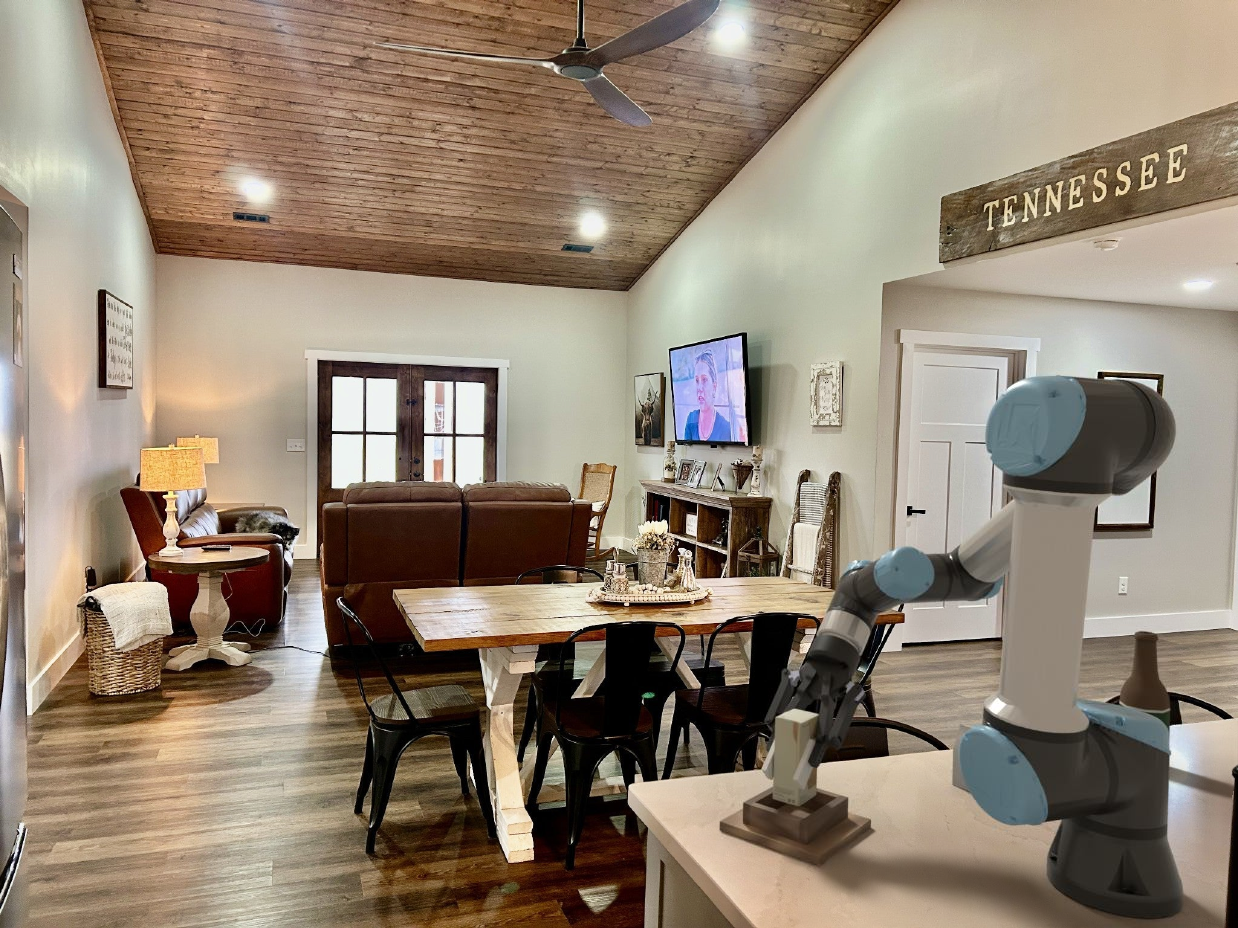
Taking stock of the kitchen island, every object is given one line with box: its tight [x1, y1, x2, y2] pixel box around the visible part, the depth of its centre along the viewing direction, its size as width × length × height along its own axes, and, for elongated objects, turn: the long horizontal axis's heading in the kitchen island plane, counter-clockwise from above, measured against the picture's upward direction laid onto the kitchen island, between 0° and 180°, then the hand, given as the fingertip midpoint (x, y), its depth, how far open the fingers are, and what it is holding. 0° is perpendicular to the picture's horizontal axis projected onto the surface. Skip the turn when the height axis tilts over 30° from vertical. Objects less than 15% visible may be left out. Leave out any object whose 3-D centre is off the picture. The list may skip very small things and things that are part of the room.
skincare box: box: [772, 709, 819, 806], centre depth 126 cm, size 6×4×12 cm
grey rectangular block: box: [951, 723, 973, 792], centre depth 142 cm, size 4×7×10 cm, turn 33°
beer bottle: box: [1118, 630, 1171, 738], centre depth 154 cm, size 8×8×24 cm
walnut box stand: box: [719, 786, 872, 866], centre depth 126 cm, size 16×16×4 cm
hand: (782, 779), depth 123 cm, fingers closed on skincare box, 4 cm apart
